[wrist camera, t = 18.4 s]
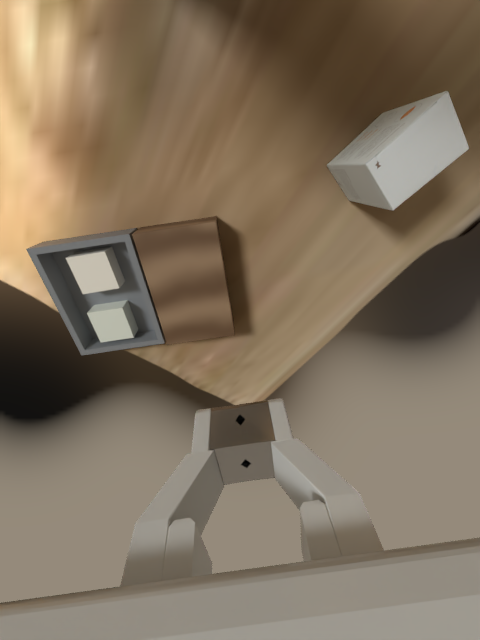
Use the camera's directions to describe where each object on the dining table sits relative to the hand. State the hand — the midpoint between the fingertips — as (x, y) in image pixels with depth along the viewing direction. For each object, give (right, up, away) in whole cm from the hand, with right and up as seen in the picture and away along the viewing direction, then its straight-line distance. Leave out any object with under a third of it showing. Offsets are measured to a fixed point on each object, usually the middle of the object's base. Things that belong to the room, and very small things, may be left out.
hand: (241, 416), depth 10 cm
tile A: (-19, +9, +26) cm, 33 cm away
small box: (+15, +23, +24) cm, 37 cm away
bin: (-19, +8, +30) cm, 36 cm away
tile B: (-19, +3, +30) cm, 35 cm away
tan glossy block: (-7, +9, +30) cm, 32 cm away
